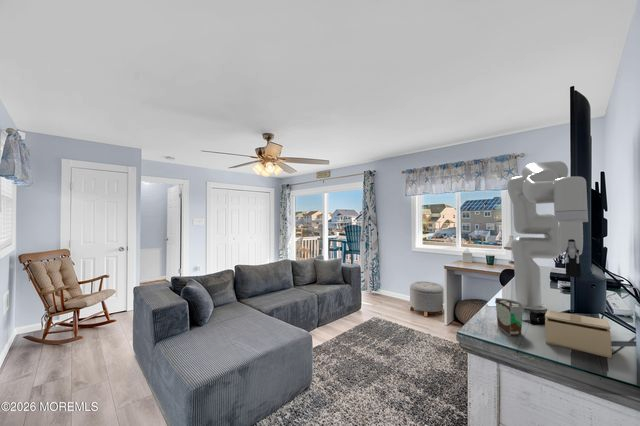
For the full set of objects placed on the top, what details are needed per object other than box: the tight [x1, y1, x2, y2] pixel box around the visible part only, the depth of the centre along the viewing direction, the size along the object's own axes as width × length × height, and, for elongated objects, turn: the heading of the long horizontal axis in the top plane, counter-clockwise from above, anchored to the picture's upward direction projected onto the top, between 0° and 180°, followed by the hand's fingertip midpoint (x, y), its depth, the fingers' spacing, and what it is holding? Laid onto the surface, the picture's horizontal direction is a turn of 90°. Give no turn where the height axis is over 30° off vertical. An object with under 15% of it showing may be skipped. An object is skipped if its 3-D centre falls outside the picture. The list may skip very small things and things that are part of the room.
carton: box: [544, 318, 613, 359], centre depth 83 cm, size 11×14×7 cm
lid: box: [545, 309, 611, 330], centre depth 83 cm, size 11×14×1 cm
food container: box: [494, 297, 526, 337], centre depth 93 cm, size 12×6×10 cm, turn 168°
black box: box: [522, 310, 546, 326], centre depth 103 cm, size 12×7×5 cm, turn 96°
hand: (573, 274), depth 81 cm, fingers open, 8 cm apart
